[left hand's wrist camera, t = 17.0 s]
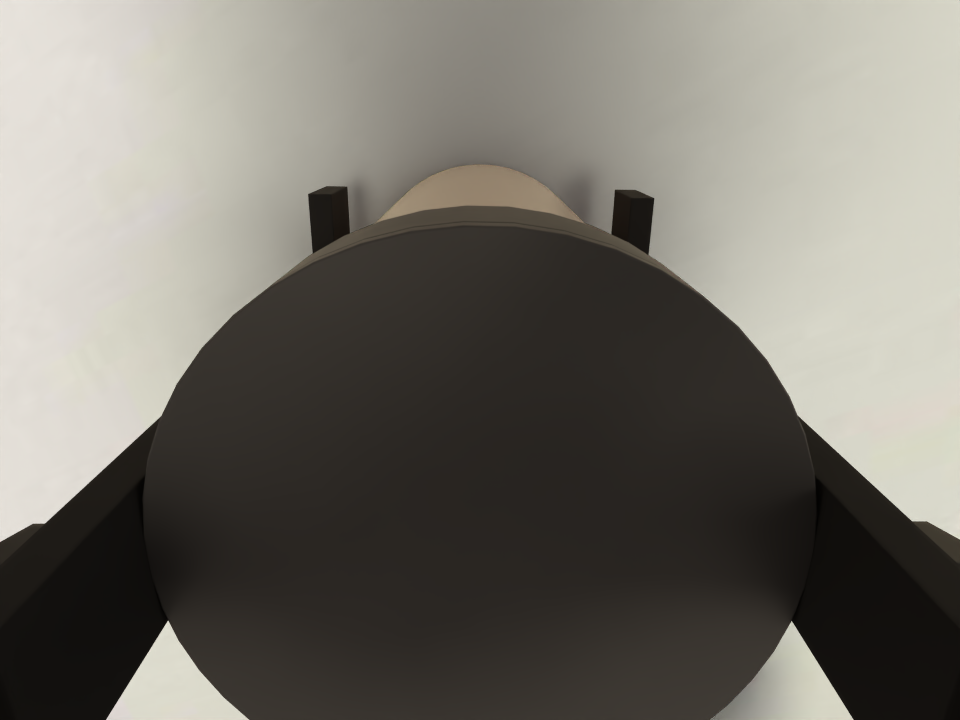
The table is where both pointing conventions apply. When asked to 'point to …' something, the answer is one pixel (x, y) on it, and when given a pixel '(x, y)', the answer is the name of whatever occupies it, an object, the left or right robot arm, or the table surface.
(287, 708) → the lid
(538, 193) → the jar
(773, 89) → the table surface
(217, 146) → the table surface
